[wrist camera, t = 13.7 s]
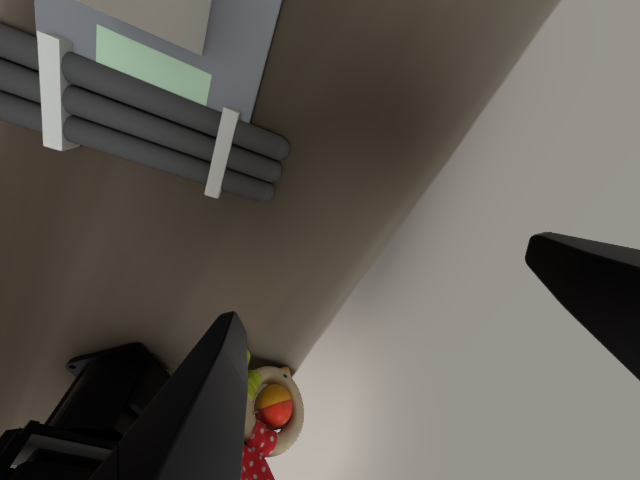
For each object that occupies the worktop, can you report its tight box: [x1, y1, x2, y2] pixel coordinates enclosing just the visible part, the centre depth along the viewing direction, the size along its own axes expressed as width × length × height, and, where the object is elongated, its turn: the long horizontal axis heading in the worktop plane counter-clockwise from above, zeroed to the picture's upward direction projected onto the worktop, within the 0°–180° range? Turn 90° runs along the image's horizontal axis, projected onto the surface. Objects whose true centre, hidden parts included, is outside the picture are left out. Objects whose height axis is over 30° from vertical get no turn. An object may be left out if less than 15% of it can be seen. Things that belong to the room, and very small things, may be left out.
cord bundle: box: [0, 23, 289, 202], centre depth 15 cm, size 15×5×2 cm, turn 67°
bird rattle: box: [241, 349, 304, 480], centre depth 23 cm, size 6×11×9 cm
